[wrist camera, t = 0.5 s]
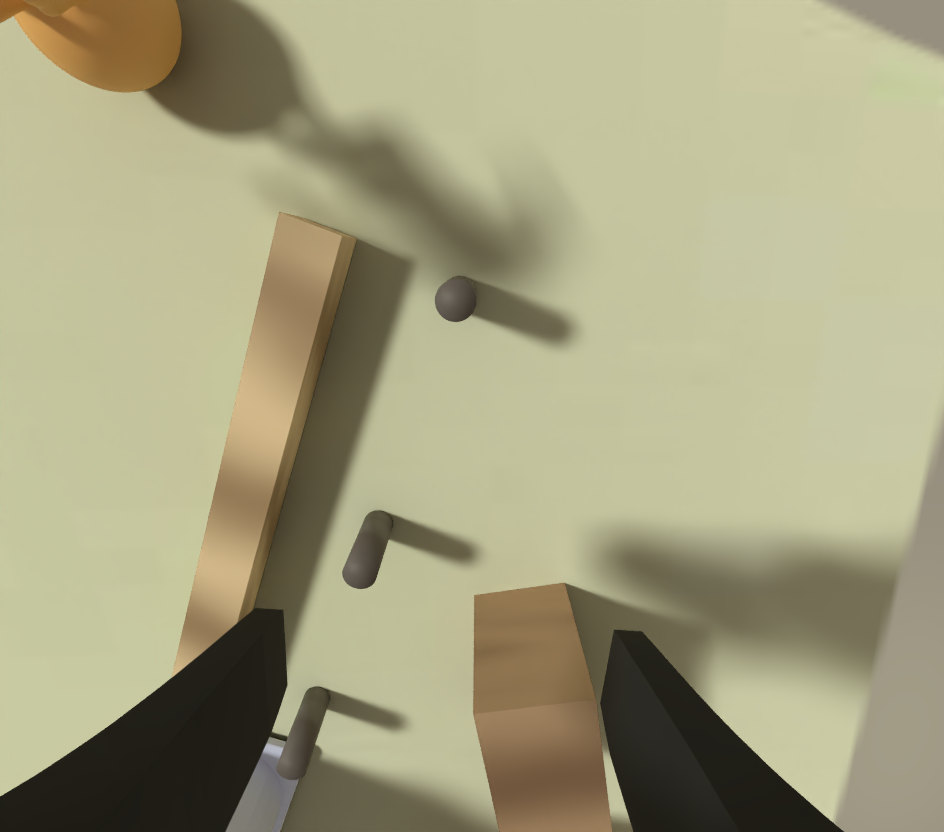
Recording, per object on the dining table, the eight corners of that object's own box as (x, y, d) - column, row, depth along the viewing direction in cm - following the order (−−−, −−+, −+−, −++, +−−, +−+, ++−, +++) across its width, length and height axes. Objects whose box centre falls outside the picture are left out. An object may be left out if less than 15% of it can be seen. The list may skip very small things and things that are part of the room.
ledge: (326, 709, 24) (301, 782, 20) (190, 670, 23) (141, 740, 20) (480, 283, 18) (481, 288, 14) (301, 214, 17) (259, 203, 14)
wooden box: (581, 703, 24) (615, 846, 18) (498, 713, 24) (505, 857, 18) (565, 582, 21) (597, 698, 16) (474, 594, 22) (473, 714, 16)
